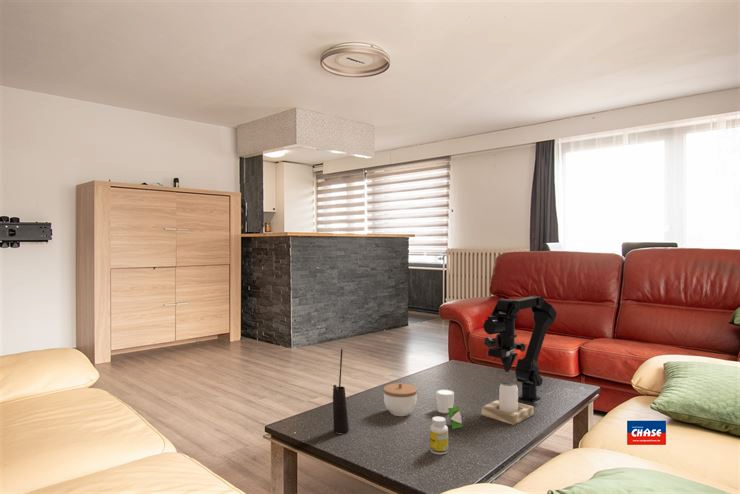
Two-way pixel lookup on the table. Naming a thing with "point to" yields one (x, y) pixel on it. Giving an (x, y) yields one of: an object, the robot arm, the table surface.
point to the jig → (511, 418)
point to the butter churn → (340, 407)
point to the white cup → (444, 400)
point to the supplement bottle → (439, 436)
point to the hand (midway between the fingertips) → (506, 371)
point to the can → (508, 396)
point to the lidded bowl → (400, 398)
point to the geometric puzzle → (455, 417)
